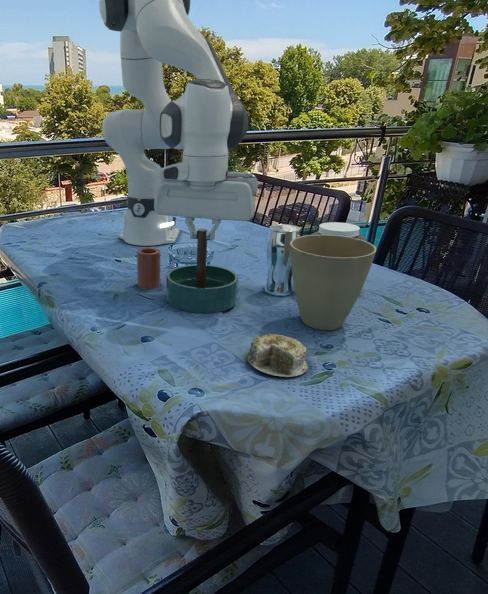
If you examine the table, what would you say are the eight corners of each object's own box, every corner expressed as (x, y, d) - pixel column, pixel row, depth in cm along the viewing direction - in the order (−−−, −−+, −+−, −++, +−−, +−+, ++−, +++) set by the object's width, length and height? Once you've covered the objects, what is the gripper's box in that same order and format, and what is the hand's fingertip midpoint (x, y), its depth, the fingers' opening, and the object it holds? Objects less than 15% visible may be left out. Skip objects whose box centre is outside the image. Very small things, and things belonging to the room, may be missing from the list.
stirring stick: (197, 291, 102) (199, 228, 96) (206, 292, 101) (208, 229, 96) (194, 294, 100) (196, 230, 95) (203, 295, 99) (206, 231, 94)
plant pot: (292, 302, 101) (300, 231, 95) (366, 316, 94) (380, 240, 88) (272, 329, 90) (280, 249, 83) (355, 347, 82) (371, 262, 76)
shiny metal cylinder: (288, 299, 103) (296, 233, 97) (258, 293, 106) (264, 229, 101) (297, 289, 108) (305, 226, 103) (268, 283, 112) (274, 222, 106)
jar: (312, 277, 115) (320, 218, 109) (362, 287, 109) (373, 224, 103) (296, 292, 106) (304, 228, 101) (350, 303, 100) (361, 236, 94)
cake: (248, 348, 84) (251, 320, 82) (306, 356, 81) (311, 327, 79) (243, 372, 75) (246, 341, 73) (308, 382, 72) (313, 351, 70)
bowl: (179, 285, 112) (179, 261, 109) (242, 293, 106) (244, 269, 104) (156, 309, 99) (156, 283, 96) (227, 320, 93) (229, 292, 91)
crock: (142, 282, 114) (142, 246, 111) (163, 284, 112) (163, 248, 109) (134, 289, 109) (133, 253, 106) (155, 292, 108) (155, 255, 104)
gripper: (261, 170, 90) (255, 239, 95) (162, 166, 97) (161, 231, 102) (255, 174, 84) (250, 247, 90) (151, 170, 92) (151, 238, 97)
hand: (202, 239), depth 96 cm, fingers closed on stirring stick, 2 cm apart
